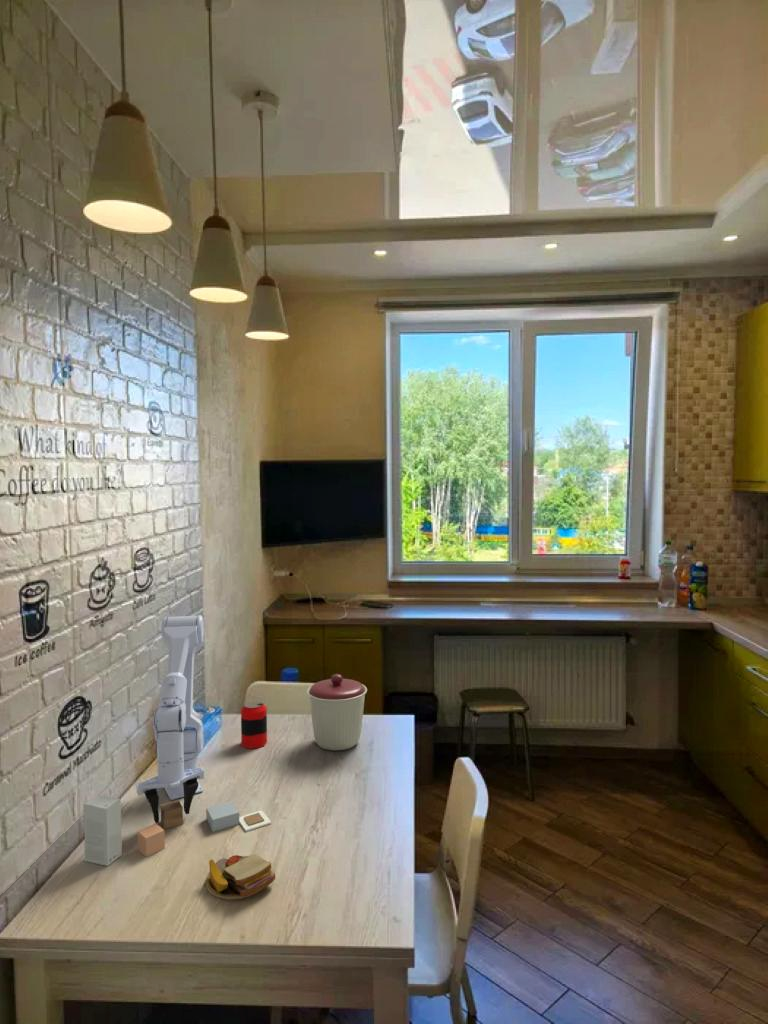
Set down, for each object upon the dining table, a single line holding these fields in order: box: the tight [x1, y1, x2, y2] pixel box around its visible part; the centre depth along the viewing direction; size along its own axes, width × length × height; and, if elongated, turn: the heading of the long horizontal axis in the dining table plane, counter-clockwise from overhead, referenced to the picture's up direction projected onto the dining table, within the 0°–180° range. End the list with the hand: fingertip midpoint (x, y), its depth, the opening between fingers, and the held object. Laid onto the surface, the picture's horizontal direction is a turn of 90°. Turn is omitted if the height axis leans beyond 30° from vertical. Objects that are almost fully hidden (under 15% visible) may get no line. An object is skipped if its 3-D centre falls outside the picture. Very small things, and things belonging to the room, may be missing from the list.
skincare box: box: [83, 794, 123, 867], centre depth 122 cm, size 6×4×12 cm
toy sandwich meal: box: [205, 853, 276, 901], centre depth 114 cm, size 12×14×5 cm
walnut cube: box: [160, 799, 184, 830], centre depth 135 cm, size 4×4×4 cm
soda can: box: [240, 700, 268, 750], centre depth 178 cm, size 8×8×12 cm
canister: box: [306, 673, 368, 752], centre depth 177 cm, size 18×18×21 cm
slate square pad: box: [205, 800, 240, 833], centre depth 135 cm, size 6×6×3 cm
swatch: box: [239, 809, 272, 832], centre depth 135 cm, size 6×6×1 cm
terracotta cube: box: [136, 822, 166, 858], centre depth 125 cm, size 4×4×4 cm
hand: (171, 816), depth 135 cm, fingers open, 6 cm apart
